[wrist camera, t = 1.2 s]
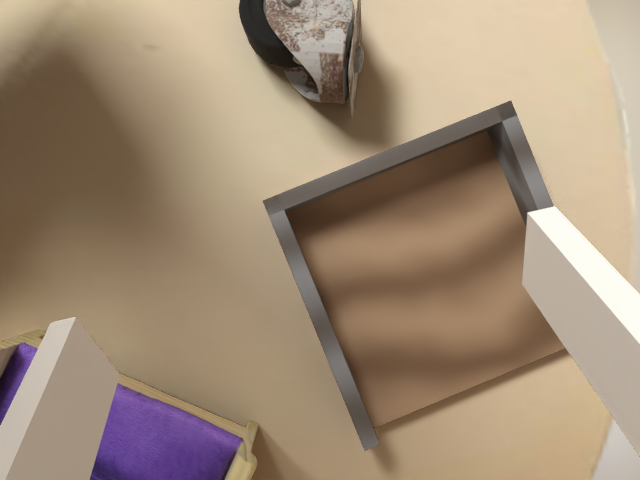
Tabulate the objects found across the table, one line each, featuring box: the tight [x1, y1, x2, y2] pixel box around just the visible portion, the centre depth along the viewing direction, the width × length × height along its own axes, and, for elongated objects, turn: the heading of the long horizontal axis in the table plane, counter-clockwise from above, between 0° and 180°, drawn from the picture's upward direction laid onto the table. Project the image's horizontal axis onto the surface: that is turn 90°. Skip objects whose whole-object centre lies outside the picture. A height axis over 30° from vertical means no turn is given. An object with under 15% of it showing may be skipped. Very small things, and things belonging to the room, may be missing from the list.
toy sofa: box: [0, 330, 258, 480], centre depth 33 cm, size 21×9×10 cm, turn 66°
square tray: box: [263, 101, 565, 451], centre depth 37 cm, size 20×20×4 cm
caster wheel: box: [239, 0, 364, 119], centre depth 36 cm, size 7×11×10 cm
